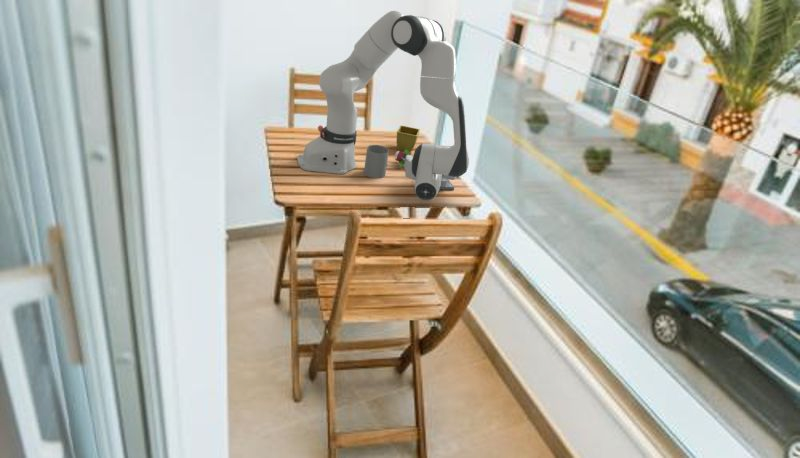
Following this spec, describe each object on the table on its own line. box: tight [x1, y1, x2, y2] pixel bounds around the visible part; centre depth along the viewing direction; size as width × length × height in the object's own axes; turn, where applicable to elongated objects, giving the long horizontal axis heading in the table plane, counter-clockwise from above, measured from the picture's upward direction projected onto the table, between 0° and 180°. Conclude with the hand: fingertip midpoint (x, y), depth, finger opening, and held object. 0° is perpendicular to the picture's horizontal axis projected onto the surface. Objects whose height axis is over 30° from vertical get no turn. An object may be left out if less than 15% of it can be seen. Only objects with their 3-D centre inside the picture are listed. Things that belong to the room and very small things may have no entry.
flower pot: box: [396, 125, 421, 153], centre depth 223 cm, size 9×9×9 cm
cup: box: [363, 144, 390, 179], centre depth 197 cm, size 8×8×10 cm
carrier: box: [439, 178, 455, 191], centre depth 202 cm, size 12×17×4 cm
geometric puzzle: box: [394, 149, 412, 168], centre depth 209 cm, size 7×7×8 cm
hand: (433, 159), depth 196 cm, fingers open, 8 cm apart
